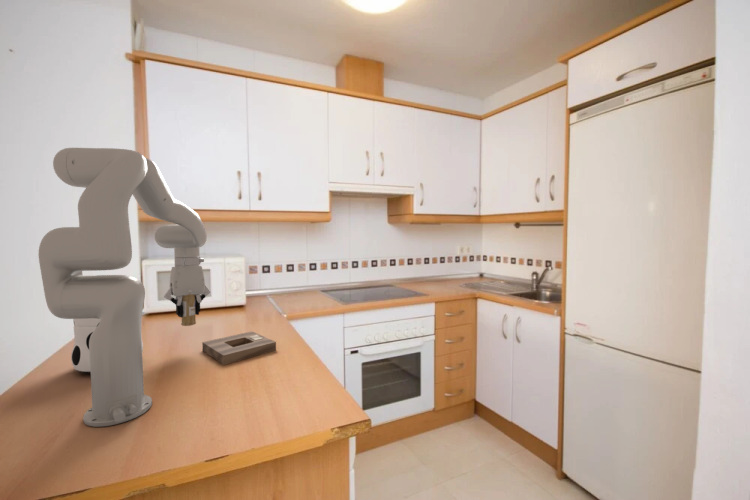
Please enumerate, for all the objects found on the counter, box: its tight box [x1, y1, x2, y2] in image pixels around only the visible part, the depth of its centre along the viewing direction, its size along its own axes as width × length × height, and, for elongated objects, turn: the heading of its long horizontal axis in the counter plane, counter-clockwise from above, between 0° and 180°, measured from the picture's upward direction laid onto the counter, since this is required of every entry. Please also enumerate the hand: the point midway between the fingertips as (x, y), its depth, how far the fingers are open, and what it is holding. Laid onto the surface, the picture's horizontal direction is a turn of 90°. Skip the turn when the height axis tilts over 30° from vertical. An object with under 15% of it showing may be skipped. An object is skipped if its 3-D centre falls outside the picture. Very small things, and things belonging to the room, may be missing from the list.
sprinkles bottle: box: [181, 290, 197, 327], centre depth 117 cm, size 5×5×13 cm
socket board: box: [201, 330, 277, 366], centre depth 119 cm, size 18×18×3 cm
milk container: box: [70, 318, 144, 374], centre depth 105 cm, size 17×17×18 cm
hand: (188, 314), depth 118 cm, fingers closed on sprinkles bottle, 4 cm apart
